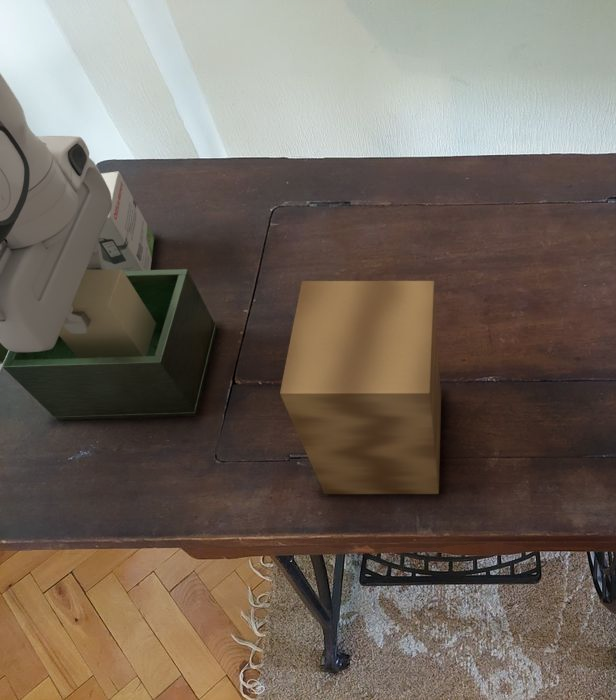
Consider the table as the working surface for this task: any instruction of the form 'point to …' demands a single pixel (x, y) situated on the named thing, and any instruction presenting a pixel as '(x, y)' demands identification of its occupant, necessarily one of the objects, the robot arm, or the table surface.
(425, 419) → the stand
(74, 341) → the carton
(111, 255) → the ink box
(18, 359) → the bin
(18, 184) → the robot arm
